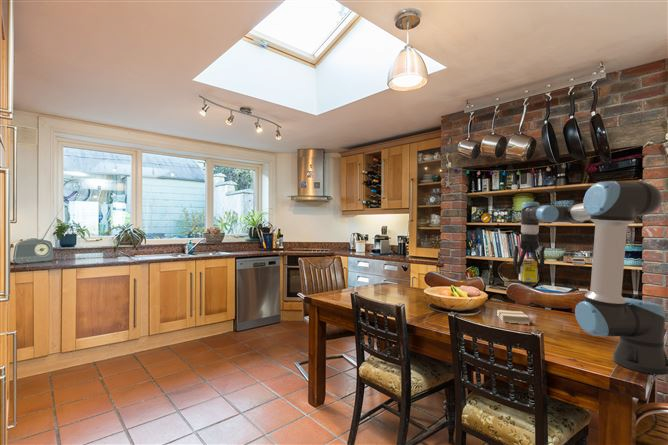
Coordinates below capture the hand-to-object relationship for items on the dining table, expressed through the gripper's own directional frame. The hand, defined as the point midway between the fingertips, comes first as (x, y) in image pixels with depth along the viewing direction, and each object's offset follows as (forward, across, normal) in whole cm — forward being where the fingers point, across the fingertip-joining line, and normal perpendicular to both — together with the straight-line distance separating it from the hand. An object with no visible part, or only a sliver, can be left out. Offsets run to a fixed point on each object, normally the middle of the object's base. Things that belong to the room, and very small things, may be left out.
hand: (527, 280), depth 167 cm
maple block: (+22, +5, -6) cm, 24 cm away
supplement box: (+1, 0, 0) cm, 1 cm away
